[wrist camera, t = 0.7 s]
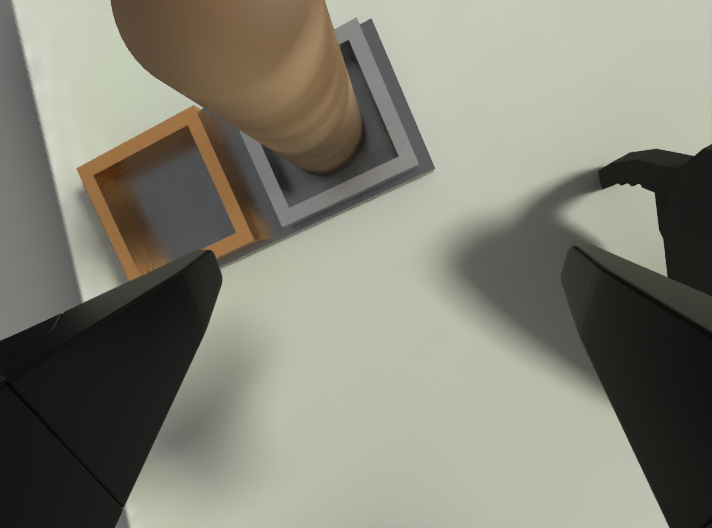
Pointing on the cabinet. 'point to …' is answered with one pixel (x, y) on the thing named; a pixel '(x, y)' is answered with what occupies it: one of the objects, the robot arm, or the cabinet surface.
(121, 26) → the post
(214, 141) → the tray
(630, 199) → the cabinet surface
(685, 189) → the gun
